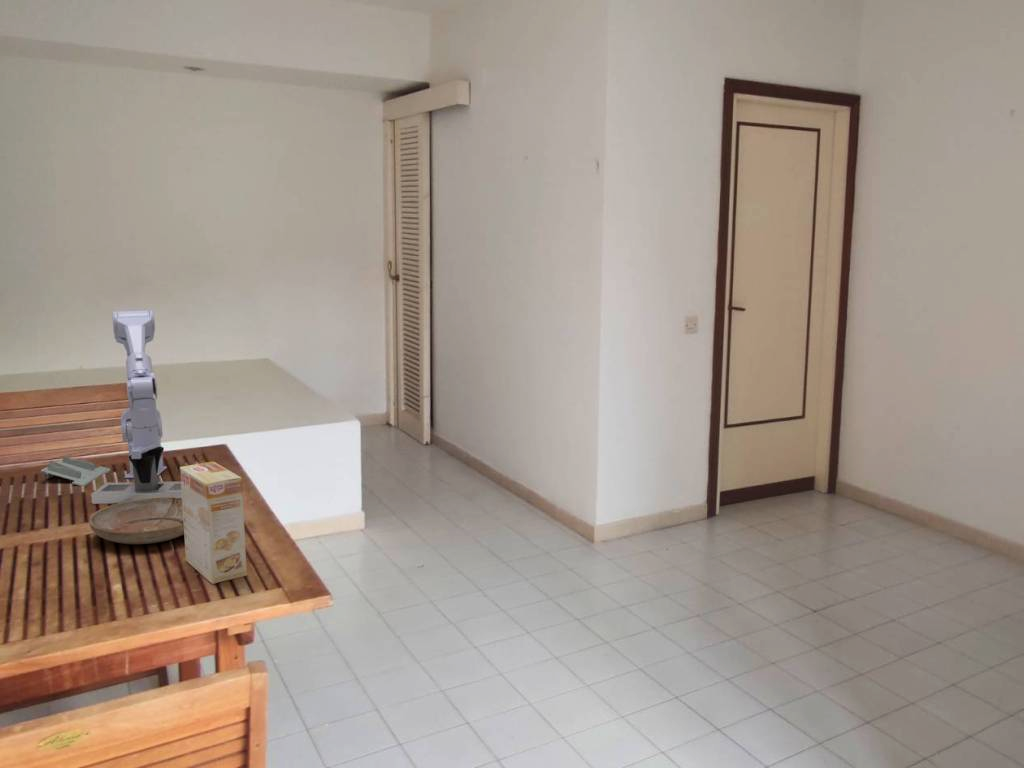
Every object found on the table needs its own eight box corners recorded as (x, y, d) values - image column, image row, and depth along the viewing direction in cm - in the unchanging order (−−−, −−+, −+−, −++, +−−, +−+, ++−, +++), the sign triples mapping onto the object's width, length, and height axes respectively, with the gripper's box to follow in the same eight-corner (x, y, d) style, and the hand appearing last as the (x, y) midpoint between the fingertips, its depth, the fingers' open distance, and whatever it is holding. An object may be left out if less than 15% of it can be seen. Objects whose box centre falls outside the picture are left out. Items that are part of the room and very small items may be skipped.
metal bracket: (33, 465, 215) (65, 450, 229) (29, 486, 216) (60, 469, 230) (89, 480, 215) (116, 464, 230) (84, 501, 216) (112, 484, 231)
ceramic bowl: (147, 562, 167) (145, 538, 166) (66, 543, 177) (63, 520, 176) (231, 526, 187) (230, 504, 187) (154, 510, 197) (153, 490, 196)
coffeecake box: (248, 575, 160) (243, 477, 157) (211, 585, 156) (204, 484, 152) (220, 552, 172) (214, 460, 168) (184, 560, 167) (178, 466, 164)
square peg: (141, 489, 208) (138, 457, 207) (158, 488, 209) (154, 457, 207) (135, 493, 204) (132, 462, 203) (152, 493, 205) (149, 461, 203)
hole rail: (107, 492, 210) (106, 482, 210) (205, 490, 212) (204, 481, 212) (92, 503, 202) (91, 493, 201) (194, 501, 203) (194, 491, 203)
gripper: (138, 419, 210) (142, 471, 213) (116, 433, 196) (120, 489, 199) (167, 419, 211) (171, 471, 213) (147, 432, 197) (151, 488, 199)
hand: (148, 479), depth 206 cm, fingers closed on square peg, 4 cm apart
